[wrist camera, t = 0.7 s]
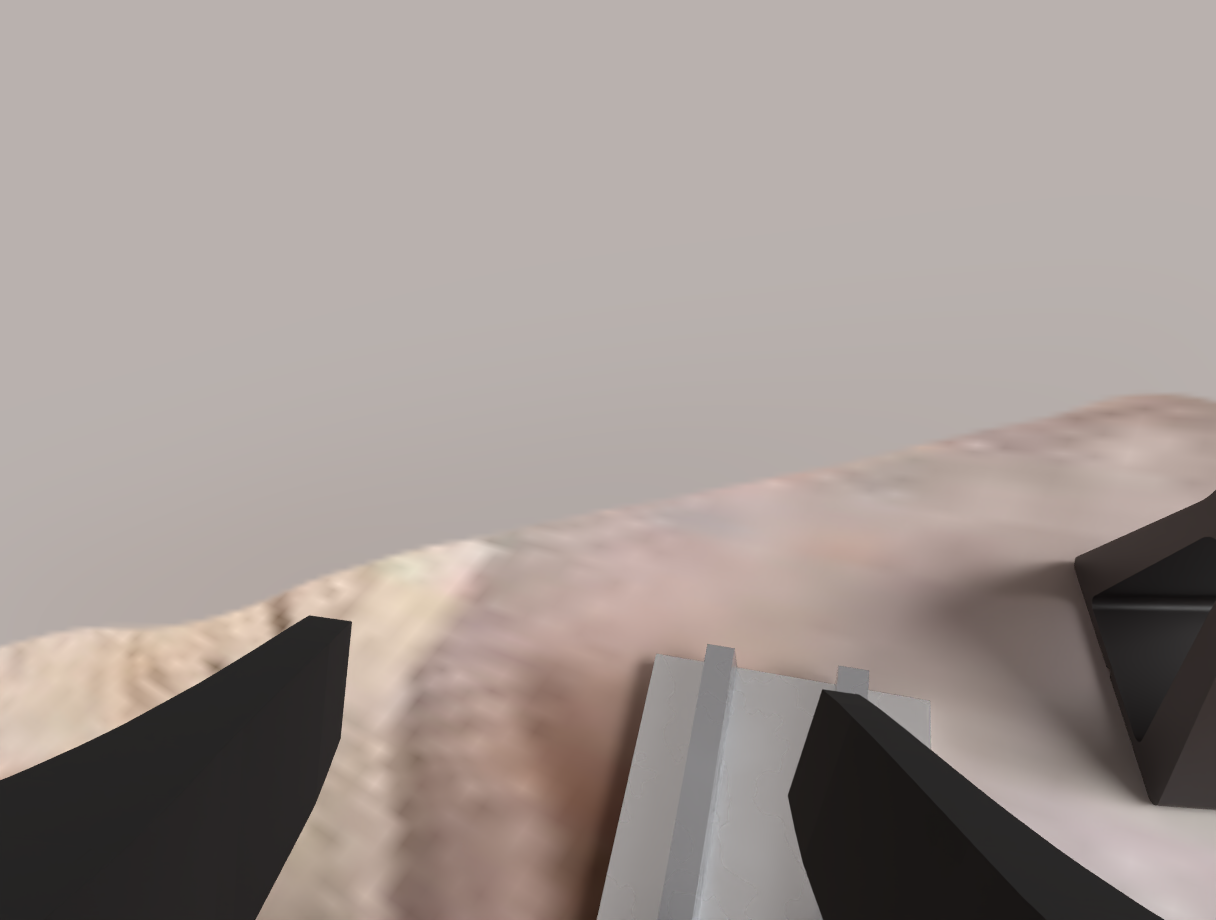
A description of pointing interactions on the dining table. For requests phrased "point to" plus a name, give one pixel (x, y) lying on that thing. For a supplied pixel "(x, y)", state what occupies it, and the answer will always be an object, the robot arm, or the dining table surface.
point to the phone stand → (1162, 647)
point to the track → (723, 792)
